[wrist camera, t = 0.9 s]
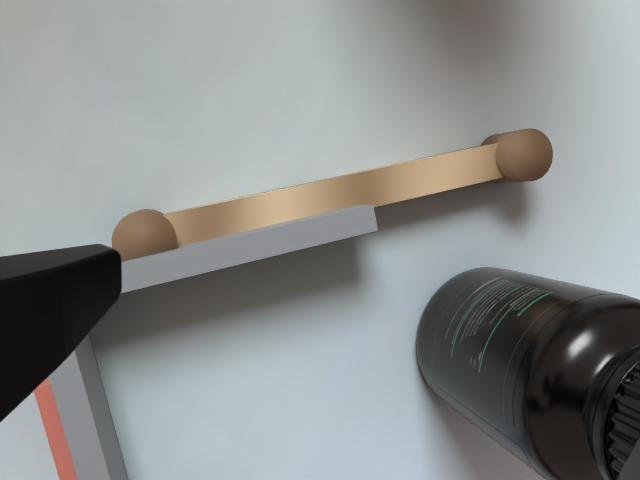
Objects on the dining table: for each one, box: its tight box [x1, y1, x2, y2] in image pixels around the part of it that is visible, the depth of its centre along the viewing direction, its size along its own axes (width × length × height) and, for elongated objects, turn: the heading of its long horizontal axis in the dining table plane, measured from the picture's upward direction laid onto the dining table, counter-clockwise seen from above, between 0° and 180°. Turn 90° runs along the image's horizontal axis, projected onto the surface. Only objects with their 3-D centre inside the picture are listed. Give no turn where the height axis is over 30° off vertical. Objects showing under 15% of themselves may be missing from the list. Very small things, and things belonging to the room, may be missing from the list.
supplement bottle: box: [416, 267, 640, 480], centre depth 20 cm, size 7×7×12 cm
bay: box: [34, 204, 378, 480], centre depth 22 cm, size 13×15×3 cm
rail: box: [112, 129, 553, 262], centre depth 23 cm, size 18×2×2 cm, turn 102°
